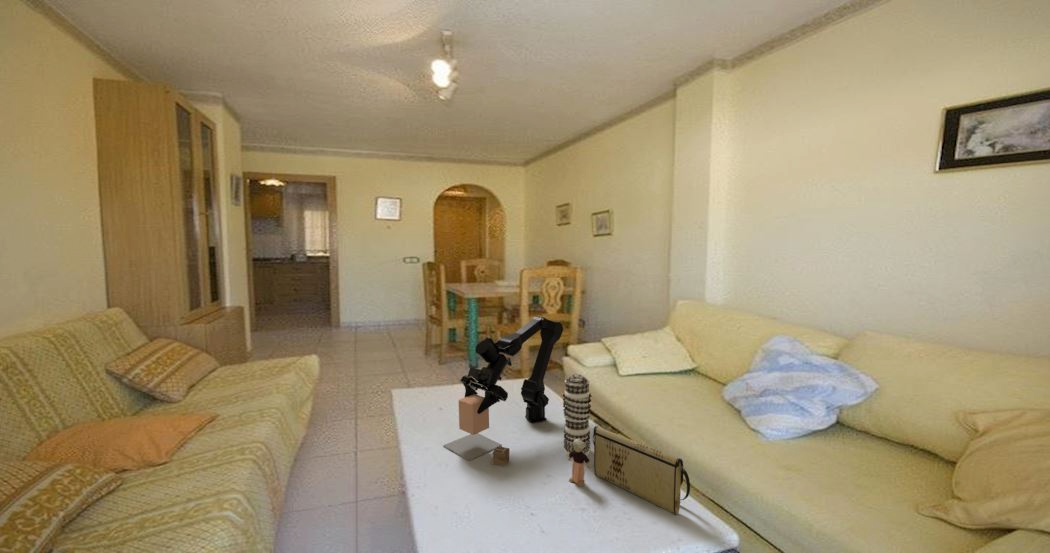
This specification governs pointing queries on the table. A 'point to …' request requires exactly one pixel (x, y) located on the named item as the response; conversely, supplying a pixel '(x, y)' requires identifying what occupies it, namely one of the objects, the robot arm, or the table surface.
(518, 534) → the table surface
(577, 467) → the grandmother figurine
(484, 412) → the tan cardboard box
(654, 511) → the table surface
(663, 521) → the table surface
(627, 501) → the table surface
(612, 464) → the clutch purse
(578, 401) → the decorative candle
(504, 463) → the letter cube
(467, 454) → the rubber mat
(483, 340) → the robot arm
